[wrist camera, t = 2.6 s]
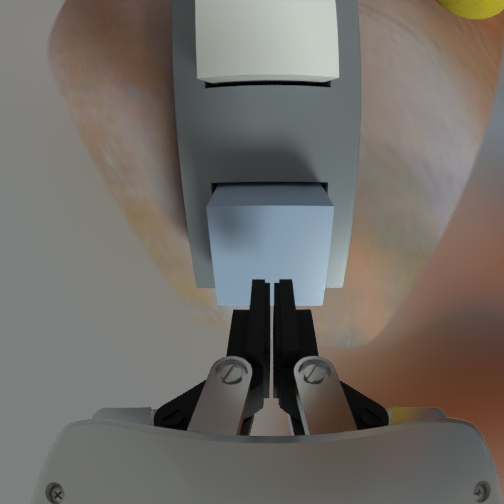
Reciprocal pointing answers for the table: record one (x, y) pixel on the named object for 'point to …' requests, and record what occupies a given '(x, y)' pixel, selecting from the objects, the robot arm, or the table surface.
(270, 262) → the slate key
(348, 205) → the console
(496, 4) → the lemon
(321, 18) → the ivory key
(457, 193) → the table surface
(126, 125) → the table surface
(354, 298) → the table surface
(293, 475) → the robot arm
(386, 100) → the table surface
